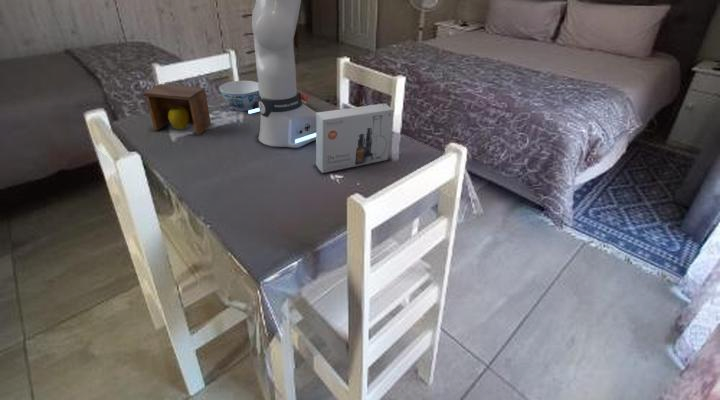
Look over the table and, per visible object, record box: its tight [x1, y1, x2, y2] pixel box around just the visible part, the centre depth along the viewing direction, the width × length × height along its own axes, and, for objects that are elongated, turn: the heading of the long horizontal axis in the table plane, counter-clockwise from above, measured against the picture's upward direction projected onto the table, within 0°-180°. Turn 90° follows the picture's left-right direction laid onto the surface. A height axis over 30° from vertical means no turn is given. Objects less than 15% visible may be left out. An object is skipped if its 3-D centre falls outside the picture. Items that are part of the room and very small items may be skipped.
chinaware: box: [218, 80, 259, 112], centre depth 144 cm, size 15×15×8 cm
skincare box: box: [315, 103, 395, 174], centre depth 108 cm, size 21×6×16 cm, turn 117°
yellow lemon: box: [168, 106, 190, 130], centre depth 126 cm, size 6×6×8 cm
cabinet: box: [142, 83, 212, 136], centre depth 125 cm, size 9×15×12 cm, turn 81°
